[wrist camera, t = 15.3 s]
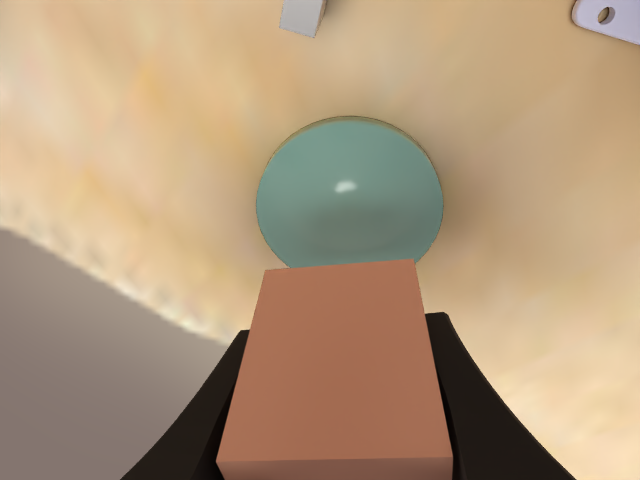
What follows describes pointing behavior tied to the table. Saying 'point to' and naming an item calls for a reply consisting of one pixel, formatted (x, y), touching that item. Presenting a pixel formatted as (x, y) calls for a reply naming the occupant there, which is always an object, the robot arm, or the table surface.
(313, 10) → the channel
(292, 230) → the saucer
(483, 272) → the table surface
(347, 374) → the block
